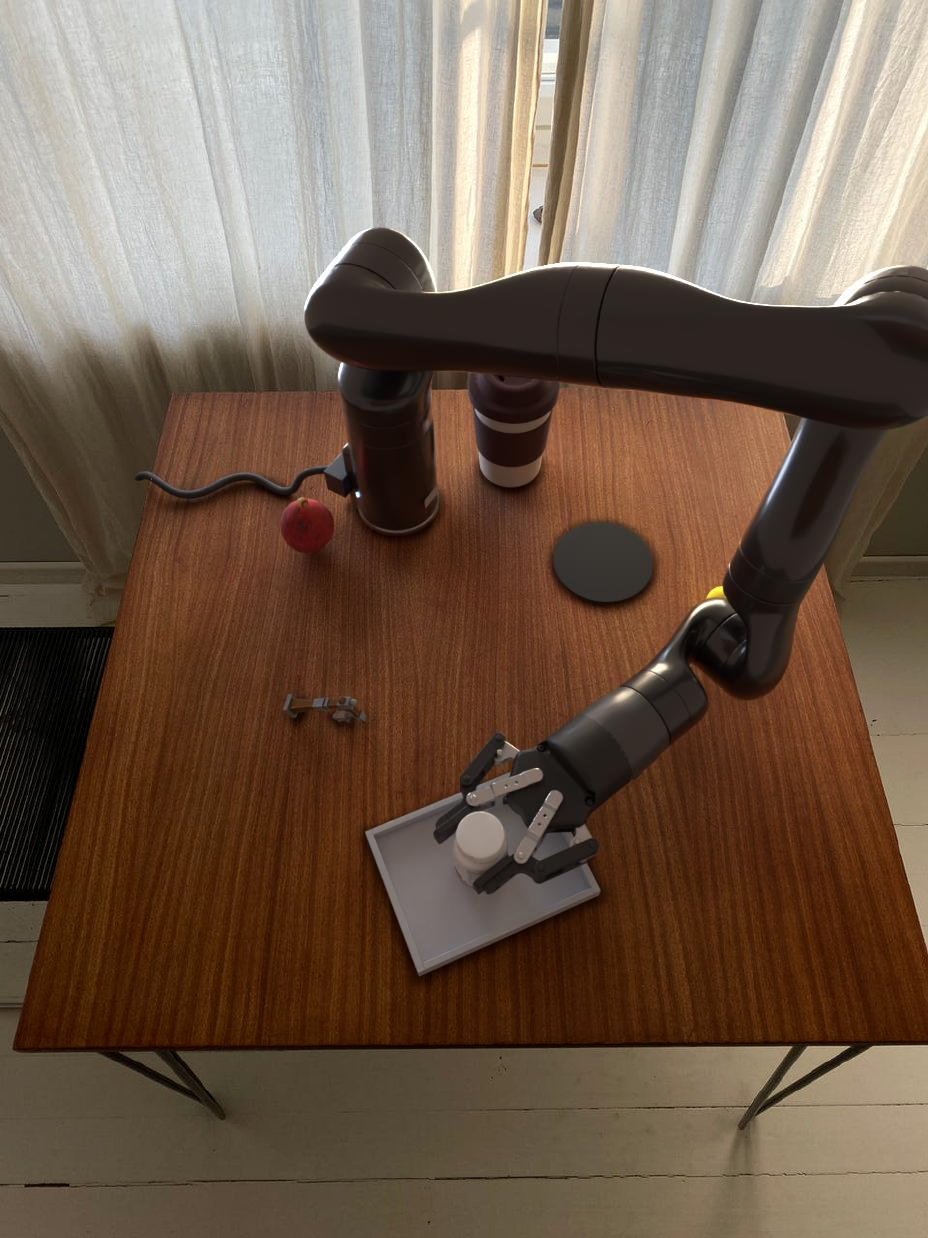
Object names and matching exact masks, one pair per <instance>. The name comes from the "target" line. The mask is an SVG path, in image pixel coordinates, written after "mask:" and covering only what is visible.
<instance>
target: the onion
mask: <svg viewBox="0 0 928 1238" xmlns="http://www.w3.org/2000/svg"><path fill="white" fill-rule="evenodd" d="M334 533H335V521H334V516H333V514H332V512H331V511H330V509H329V508H328V506H326V505H325V504H324V503H322V502H320V501H318V500H317V499H313V498H307V497H304V496H301V497H300V498H299V497H298V498H297V500H294V501H291V502H290V503H289V504H288V506H286V507H285V508H284V510H283V512H282V515H281V517H280V534H281V536H282V537H283V540H284V541H285V543H286V545H287V546H289V547H290V548H291V549H293V550H294V551H295V552H298V553H301V554H306V555H307V554H308V555H309V554H313V553H317V552H319V551H321V550H322V549H324V548H325V547H326V546H327V545H328V544H329V542H331V540H332V538H333V536H334Z"/></svg>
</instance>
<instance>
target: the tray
mask: <svg viewBox="0 0 928 1238" xmlns="http://www.w3.org/2000/svg"><path fill="white" fill-rule="evenodd" d="M510 773H511V771H510V772H507V773H505V774H503V775H499V776H498V777H494V778H493V779H489V780H488V781H485V782H483V783H480V784H479V785H478V786H477V787H476V789H477V790H480V789H483V788H486V787H489V786H490V785H491V784H493V783H495V782H498V781H501V780H504V779H507V778H509V777H510ZM506 787H507V786H506ZM462 800H463V796H462V793H461V792H459V793H456V794H454V795H452V796H449V797H445V798H443V799H441V800H439V801H437V802H434V803H432V804H429V805H427V806H424V807H422V808H419V809H417V810H415V811H412V812H409V813H407V814H405V815H403V816H400V817H398V818H396V819H392V820H390V821H387V822H385V823H383V824H381V825H378V826H376V827H373V828H371V829H368V830H366V831H364V832H365V836H366V839H367V842H368V845H369V847H370V849H371V853H372V855H373V858H374V860H375V863H376V866H377V868H378V871H379V874H380V876H381V879H382V881H383V884H384V887H385V890H386V892H387V895H388V898H389V900H390V903H391V906H392V908H393V911H394V914H395V916H396V919H397V922H398V925H399V927H400V929H401V932H402V935H403V938H404V940H405V943H406V945H407V948H408V951H409V954H410V956H411V959H412V962H413V964H414V968H415V970H416V972H417V975H418V977H421V976H424V975H425V974H428V973H430V972H432V971H434V970H435V971H436V970H437V969H439V968H442V967H443V966H445V965H448V964H450V963H452V962H454V961H458V960H459V959H461V958H463V957H465V956H468V955H471V954H472V953H474V952H477V951H480V950H481V949H483V948H485V947H487V946H489V945H492V944H495V943H497V942H499V941H502V940H503V939H506V938H508V937H510V936H512V935H514V934H517V933H518V932H521V931H523V930H526V929H527V928H529V927H532V926H534V925H536V924H538V923H541V922H543V921H545V920H547V919H549V918H552V917H554V916H556V915H559V914H561V913H564V912H565V911H567V910H569V909H572V908H574V907H576V906H578V905H580V904H583V903H585V902H587V901H589V900H592V899H594V898H596V897H598V896H600V893H601V892H602V891H601V888H600V886H599V884H598V882H597V881H596V880H597V879H596V878H595V877H594V875H593V871H591V868H590V867H589V865H588V863H586V864H584V865H581V866H579V867H577V868H575V869H573V870H570V871H568V872H566V873H564V874H562V875H559V876H557V877H555V878H553V879H551V880H548V881H546V882H544V883H542V884H537V883H535V882H534V881H533V879H532V878H531V877H529V876H527V875H526V874H522V873H520V874H517V875H515V876H514V877H513V878H511V879H510V880H509V881H508V882H507V883H505V884H504V885H503V886H502V887H500V888H499V889H498V890H497V891H495V892H494V893H492V894H488V895H487V894H486V892H485V891H483V892H482V893H481V894H479V895H478V894H477V892H476V891H475V890H474V889H473V888H471V887H468V886H467V885H465V884H464V883H463V882H462V881H461V880H460V879H459V877H458V875H457V873H456V870H455V865H454V856H453V846H452V844H453V837H454V834H453V835H452V836H451V837H449V838H448V839H447V840H446V841H444V842H443V843H441V844H438V842H437V841H436V840H435V839H434V835H433V832H434V831H435V830H436V825H435V824H436V822H437V820H438V819H439V818H440V817H441V816H443V815H444V814H445V813H447V812H448V811H449V810H451V809H452V808H453V807H455V806H456V805H457V804H459V803H460V802H461V801H462ZM485 812H486V813H489V814H491V815H493V816H495V817H496V818H497V819H498V820H499V821H500V823H501V824H502V826H503V829H504V831H505V833H506V835H507V838H508V855H509V856H511V855H512V854H514V853H515V851H516V850H517V848H518V846H519V845H520V843H521V841H522V840H523V838H524V836H525V835H526V832H527V830H528V828H527V827H526V826H525V824H524V822H523V820H522V818H521V816H520V815H518V814H517V813H515V812H514V811H513V810H512V809H511V808H510V807H509V806H506V807H503V808H500V809H491V810H488V811H485ZM573 837H574V835H573V832H562V833H548V834H547V836H546V837H545V839H544V841H543V842H542V844H541V846H540V847H539V849H538V850H537V852H536V853H535V854H534V856H533V857H534V858H536V859H537V860H539V861H540V860H543V859H545V858H547V857H549V856H552V855H554V854H556V853H558V852H560V851H563V850H565V849H567V848H569V842H570V840H571V839H572V838H573Z"/></svg>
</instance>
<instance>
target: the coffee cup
mask: <svg viewBox="0 0 928 1238" xmlns="http://www.w3.org/2000/svg"><path fill="white" fill-rule="evenodd" d="M560 389H561V383H558V382H552V381H546V380H539V379H532V378H521V377H510V376H499V375H487V374H477V373H468V376H467V395H468V399H469V401H470V403H471V405H472V415H473V416H472V417H473V425H474V427H473V428H474V435H475V436H474V437H475V445H476V448H477V451H478V459H479V468H480V470H481V472H482V474H483V476H484V477H485V478H486V479H487V480H489V482H491V483H493V484H494V485H496V486H500V487H503V488H519V487H521V486H525V485H527V484H529V483H530V482H532V481H533V480H534V479H535V478H536V477H537V475H538V474H539V473H540V470H541V466H542V461H543V455H544V453H545V450H546V448H547V444H548V437H549V433H550V429H551V428H550V427H551V422H552V419H553V412H554V408H555V406H556V405H557V403H558V400H559V397H560V392H561V391H560Z"/></svg>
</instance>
